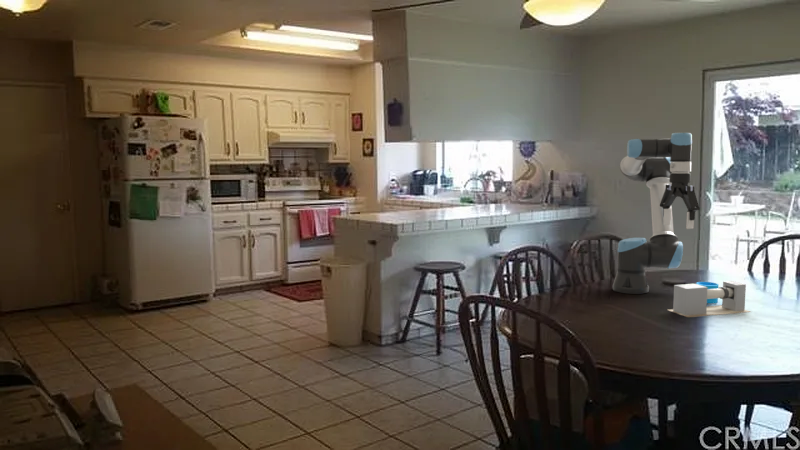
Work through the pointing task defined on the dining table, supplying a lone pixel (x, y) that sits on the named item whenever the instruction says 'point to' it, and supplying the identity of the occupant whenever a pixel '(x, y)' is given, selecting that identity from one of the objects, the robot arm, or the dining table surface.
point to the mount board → (714, 311)
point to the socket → (735, 296)
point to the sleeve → (690, 299)
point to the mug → (710, 286)
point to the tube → (720, 293)
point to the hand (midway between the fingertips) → (678, 226)
